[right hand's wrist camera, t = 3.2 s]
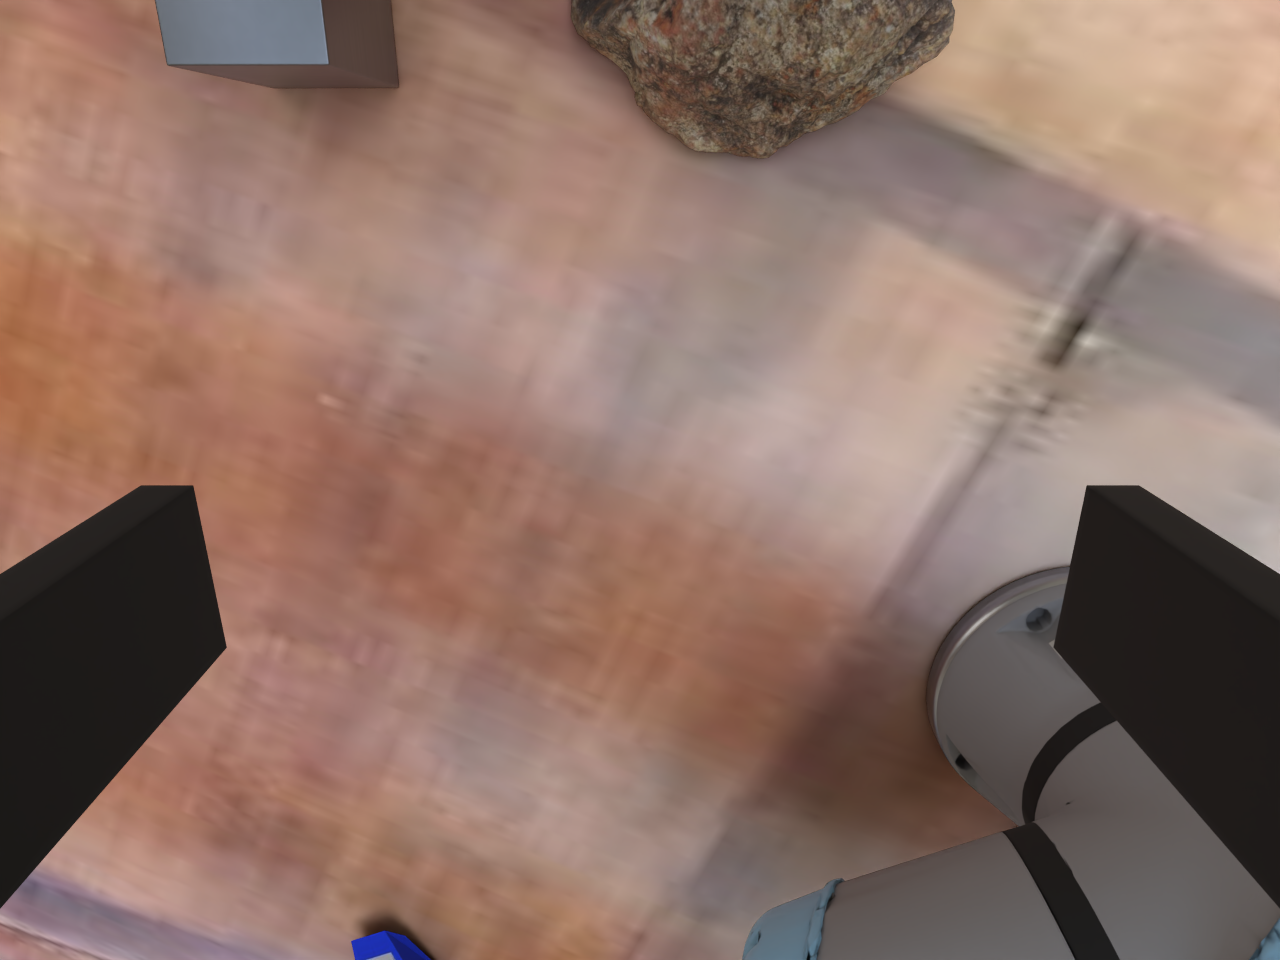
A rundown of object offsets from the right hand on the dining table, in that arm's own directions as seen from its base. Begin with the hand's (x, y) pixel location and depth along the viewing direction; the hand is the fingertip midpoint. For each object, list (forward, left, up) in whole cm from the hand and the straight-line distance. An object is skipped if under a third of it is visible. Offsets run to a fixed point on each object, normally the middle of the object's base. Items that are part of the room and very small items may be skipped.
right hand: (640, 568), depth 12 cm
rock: (+12, -1, -29) cm, 32 cm away
